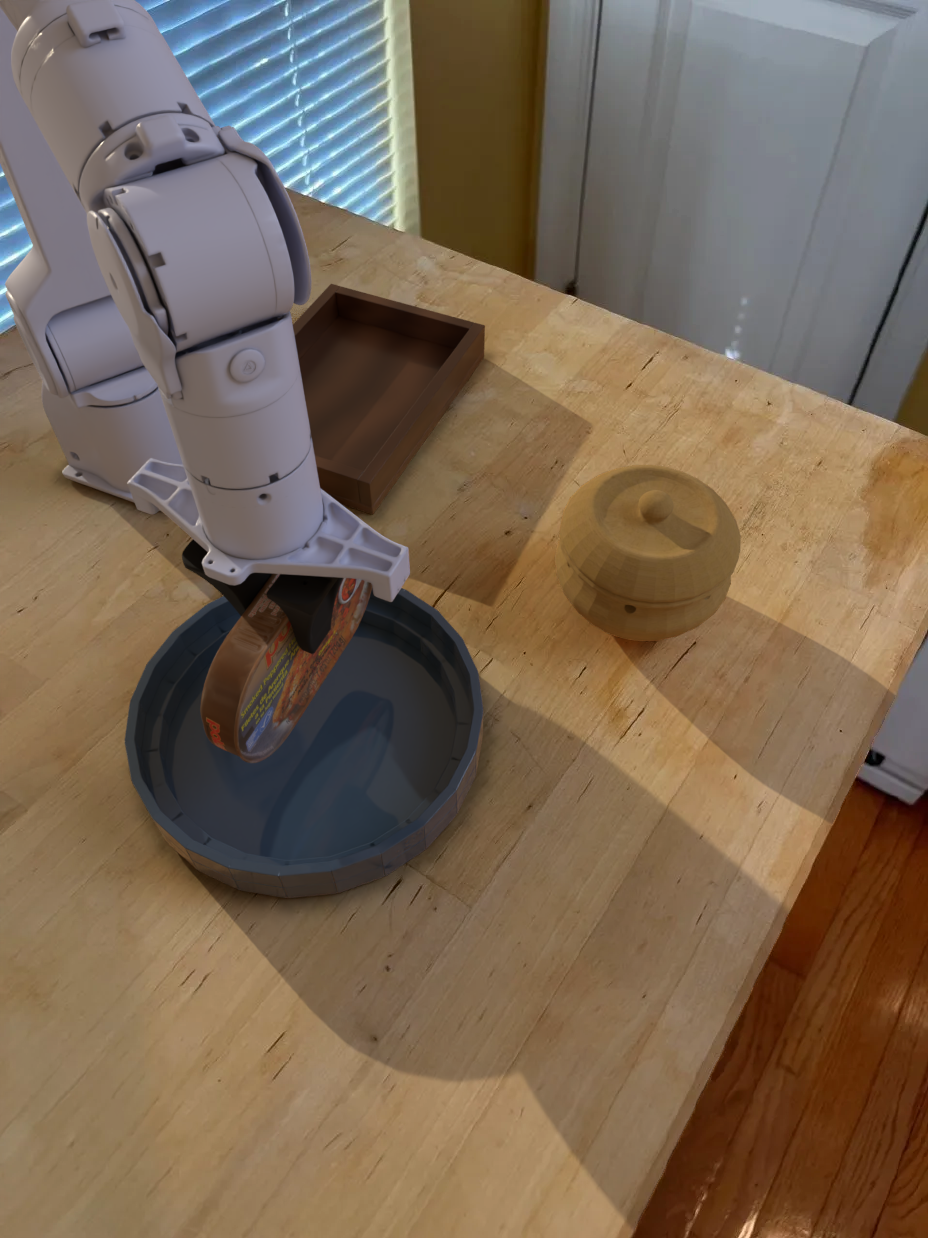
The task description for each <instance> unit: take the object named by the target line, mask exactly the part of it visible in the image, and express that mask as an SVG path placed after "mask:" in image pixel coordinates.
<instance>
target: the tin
mask: <svg viewBox="0 0 928 1238" xmlns="http://www.w3.org/2000/svg"><path fill="white" fill-rule="evenodd" d="M279 575H280V574H272V575H271V577H270V578H269V579H268V581H267V582H266V583H265V585H264V586H263V587H262V589H261V590H260V591H259V593H258V594H257V595H256V597H255V598H254V600H253V601H252V602H251V604H250V605H249V606H248V608H247V609H246V611H245V612H244V613H243V614H242V616H241V617H240V619H239V620H238V621H237V623H236V624H235V626H234V627H233V628H232V630H231V631H230V632H229V634H228V635H227V637H226V638H225V639H224V641H223V643H222V644H221V646H220V648H219V650H218V651H217V653H216V655H215V657H214V659H213V662H212V664H211V666H210V669H209V671H208V674H207V677H206V680H205V684H204V688H203V692H202V698H201V706H200V711H201V718H202V721H203V725H204V730H205V733H206V735H207V737H208V739H209V741H210V742H211V743H212V744H214V745H215V746H217V747H219V748H221V749H223V750H225V751H228V752H230V753H232V754H235V755H237V756H239V757H240V758H241V759H242V760H243V761H245V762H248V763H257V762H260V761H262V760H264V759H266V758H268V757H269V756H270V755H272V754H273V753H274V752H275V751H276V750H277V749H278V748H279V747H280V746H281V745H282V743H283V742H284V741H285V740H286V738H287V737H288V736H289V734H290V733H291V731H292V730H293V728H294V727H295V725H296V724H297V722H298V721H299V719H300V718H301V716H302V714H303V713H304V711H305V710H306V708H307V707H308V705H309V703H310V702H311V701H312V699H313V697H314V696H315V694H316V693H317V691H318V690H319V688H320V686H321V685H322V683H323V682H324V680H325V679H326V677H327V676H328V674H329V672H330V671H331V670H332V668H333V667H334V665H335V663H336V662H337V660H338V659H339V657H340V656H341V654H342V652H343V651H344V649H345V648H346V646H347V645H348V643H349V642H350V640H351V639H352V637H353V635H354V633H355V632H356V630H357V628H358V626H359V623H360V621H361V619H362V617H363V614H364V612H365V609H366V607H367V604H368V601H369V598H370V594H371V590H372V584H371V583H369V582H367V581H364V580H361V579H353V578H343V580H342V582H341V585H340V587H339V590H338V593H337V596H336V600H335V604H334V608H333V614H332V621H331V630H330V631H329V632H328V634H327V635H326V637H325V638H324V640H323V641H322V643H321V644H320V646H319V647H318V649H317V650H316V652H315V653H313V654H311V653H308V652H306V651H303V650H302V649H301V648H300V647H299V645H298V644H297V641H296V638H295V635H294V632H293V629H292V625H291V623H290V621H289V619H288V617H287V616H286V614H285V613H284V612H283V610H282V609H281V608H280V607H279V606H278V605H277V604H276V603H274V602H273V601H272V600H270V599H268V598H267V594H266V593H267V591H268V590H269V589H270V587H271V586H272V585H273V583H274V582H275V581H276V579H277V578H278V577H279Z"/></svg>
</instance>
